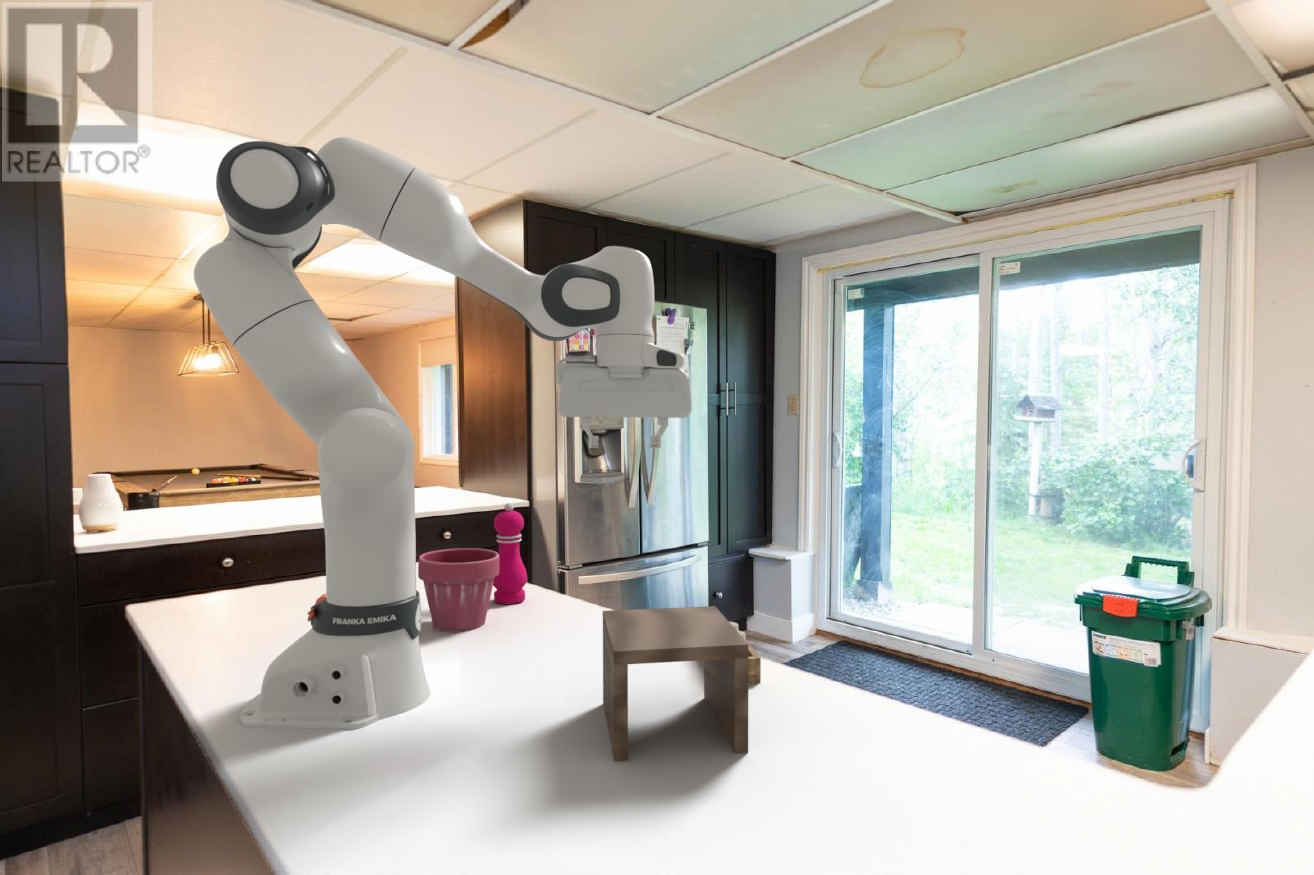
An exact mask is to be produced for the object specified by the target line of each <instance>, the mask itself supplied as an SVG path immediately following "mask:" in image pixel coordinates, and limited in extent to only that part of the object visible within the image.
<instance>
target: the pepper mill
mask: <svg viewBox="0 0 1314 875" xmlns="http://www.w3.org/2000/svg"><path fill="white" fill-rule="evenodd" d="M524 525H525V521H524V517H523V516H522V514H521V513H520V512H519V511H516V510H514V505H513V503H511V502H508V503H506V504H505V505H504V511H502V512H499V513H498V514H497V515H496V516H495V518H494V521H493V526H494V529H495V531H496V532H497V533H498V534H497V535H496V542H497V543H498V548H499V549H498V554H499V574H498V576H496V577H495V578H494V582H493V587H494V588H495V589H496V590H495V591H494V592H493V600H494V603H496V604H502V605H510V604H517V603H518V604H519V603H522V602H524V601H525V600H526V591H525V589H523V588H524V587H525V585H526V584H527V582H528V573H527V569H526V567H525V565H524V563H523V559H522V557H521V554H520V552H521V550H520V542H521V541H522V534H521V531H522V530H523V529H524Z"/></svg>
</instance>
